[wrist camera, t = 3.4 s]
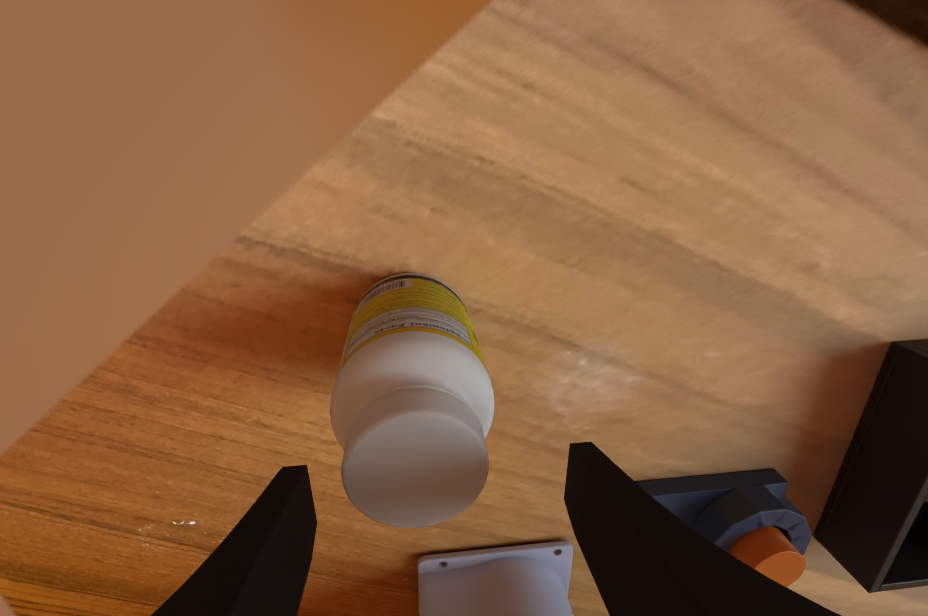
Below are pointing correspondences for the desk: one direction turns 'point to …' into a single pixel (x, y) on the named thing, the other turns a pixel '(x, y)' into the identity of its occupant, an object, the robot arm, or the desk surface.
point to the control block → (732, 505)
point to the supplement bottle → (412, 404)
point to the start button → (770, 554)
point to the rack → (885, 481)
